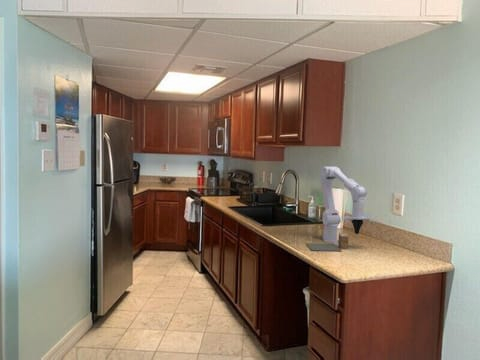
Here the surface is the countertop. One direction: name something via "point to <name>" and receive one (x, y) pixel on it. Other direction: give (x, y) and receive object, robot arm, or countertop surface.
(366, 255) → the countertop surface
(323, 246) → the rubber mat
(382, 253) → the countertop surface
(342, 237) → the walnut block
